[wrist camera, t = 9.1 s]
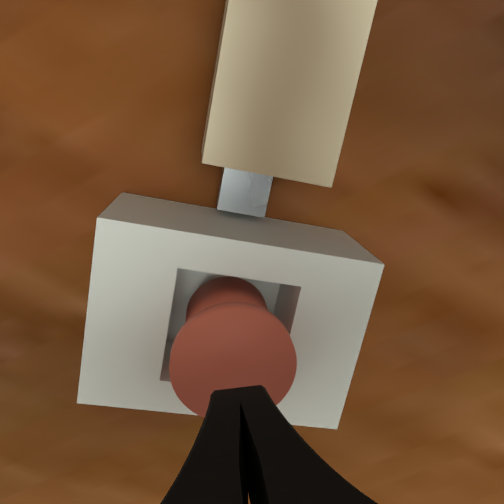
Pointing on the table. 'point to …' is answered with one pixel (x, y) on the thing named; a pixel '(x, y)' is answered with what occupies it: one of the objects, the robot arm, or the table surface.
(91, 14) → the table surface
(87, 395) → the white button housing
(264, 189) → the rail
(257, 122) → the block
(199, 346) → the knob
